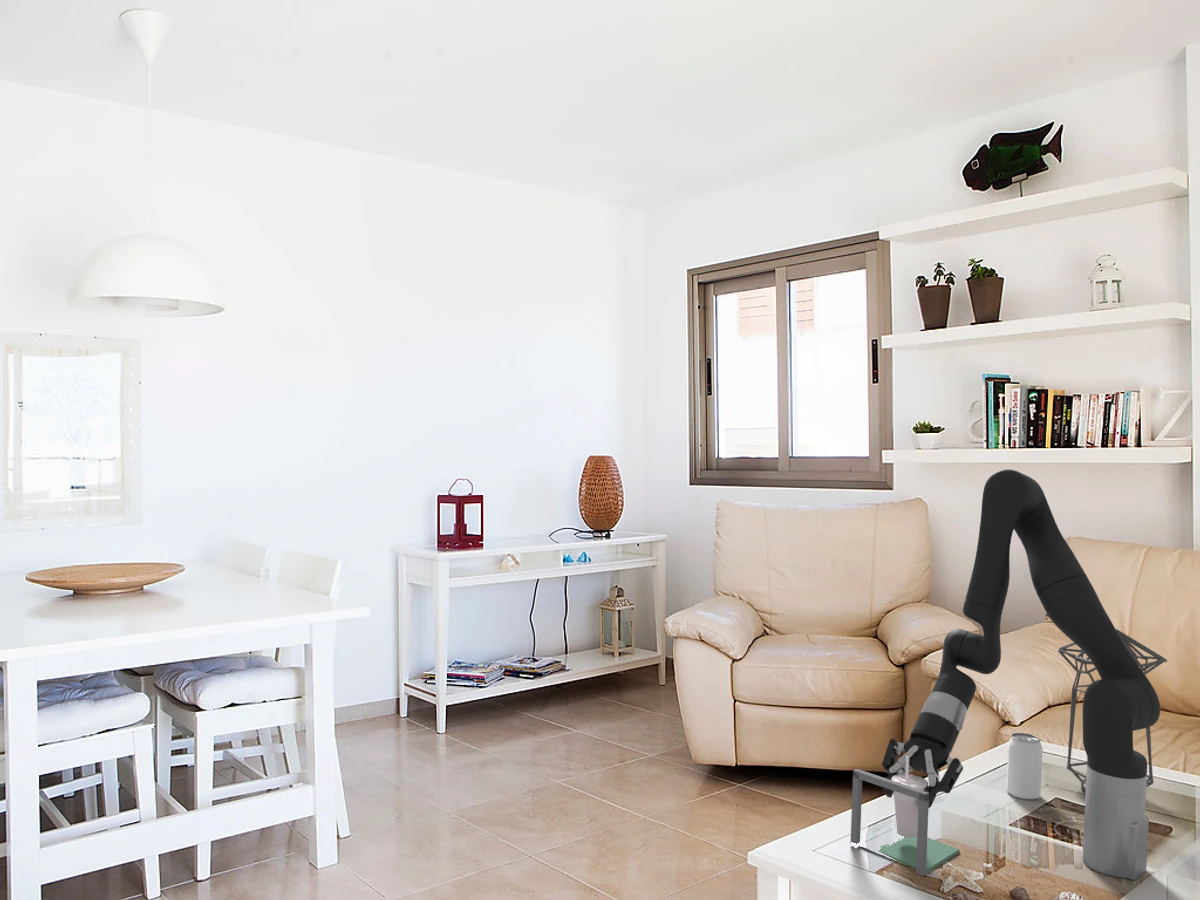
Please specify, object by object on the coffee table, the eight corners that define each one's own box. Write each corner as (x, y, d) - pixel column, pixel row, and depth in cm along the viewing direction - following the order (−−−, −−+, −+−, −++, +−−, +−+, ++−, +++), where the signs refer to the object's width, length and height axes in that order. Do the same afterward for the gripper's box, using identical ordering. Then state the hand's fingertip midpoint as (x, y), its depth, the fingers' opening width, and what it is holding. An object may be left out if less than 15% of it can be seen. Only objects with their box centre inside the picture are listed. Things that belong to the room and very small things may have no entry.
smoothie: (897, 822, 177) (900, 747, 176) (931, 832, 173) (934, 756, 172) (883, 833, 172) (886, 757, 171) (918, 844, 168) (921, 766, 167)
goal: (959, 852, 171) (962, 775, 170) (922, 875, 162) (925, 794, 161) (888, 826, 181) (891, 753, 180) (850, 846, 172) (853, 770, 171)
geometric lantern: (1107, 814, 189) (1110, 638, 189) (1050, 785, 204) (1052, 623, 204) (1171, 806, 194) (1174, 634, 193) (1110, 778, 209) (1113, 619, 208)
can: (1045, 801, 195) (1048, 743, 194) (1014, 800, 195) (1016, 742, 194) (1032, 788, 201) (1034, 732, 201) (1001, 787, 201) (1003, 731, 201)
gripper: (898, 701, 181) (861, 778, 174) (970, 721, 171) (935, 804, 164) (911, 723, 185) (876, 799, 178) (983, 744, 175) (949, 825, 167)
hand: (904, 801), depth 171 cm, fingers closed on smoothie, 6 cm apart
